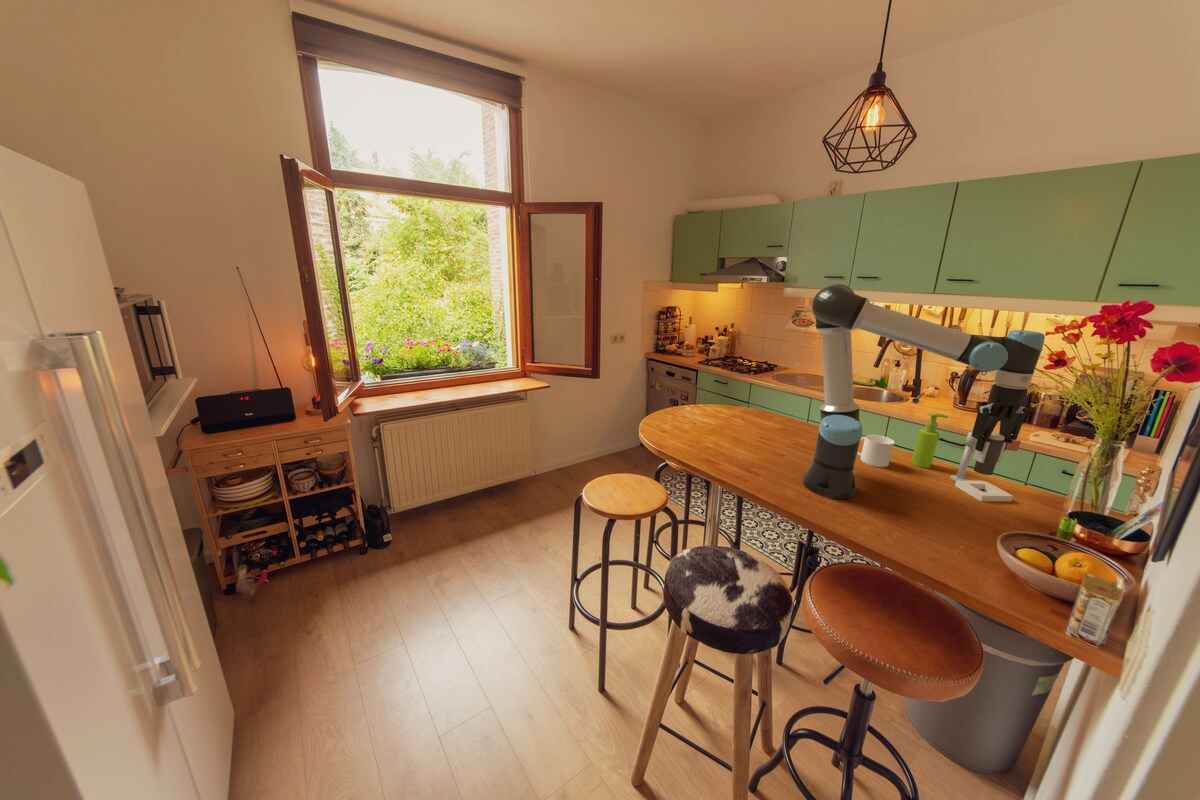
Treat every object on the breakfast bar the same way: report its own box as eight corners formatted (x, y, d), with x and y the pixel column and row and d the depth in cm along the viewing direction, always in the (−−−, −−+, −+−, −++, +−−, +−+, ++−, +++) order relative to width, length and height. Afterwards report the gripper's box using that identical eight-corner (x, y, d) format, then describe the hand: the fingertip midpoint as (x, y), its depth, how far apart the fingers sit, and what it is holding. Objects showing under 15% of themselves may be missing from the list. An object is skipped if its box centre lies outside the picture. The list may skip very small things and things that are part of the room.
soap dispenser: (936, 469, 157) (951, 417, 151) (915, 467, 158) (929, 415, 152) (928, 462, 162) (942, 412, 156) (908, 460, 163) (921, 410, 157)
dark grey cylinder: (982, 475, 127) (994, 437, 124) (969, 468, 131) (980, 432, 128) (996, 475, 127) (1009, 437, 124) (983, 468, 132) (995, 432, 128)
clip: (1018, 452, 139) (1022, 441, 138) (967, 445, 144) (970, 434, 143) (1014, 449, 142) (1017, 437, 141) (963, 442, 146) (966, 431, 145)
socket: (980, 501, 135) (993, 463, 131) (941, 477, 150) (951, 443, 146) (1011, 501, 136) (1024, 464, 132) (968, 477, 151) (979, 443, 147)
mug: (893, 464, 159) (899, 441, 157) (880, 469, 155) (886, 445, 152) (860, 452, 169) (865, 430, 166) (847, 457, 165) (852, 434, 162)
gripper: (993, 389, 118) (969, 466, 124) (1053, 389, 118) (1026, 466, 125) (969, 381, 125) (948, 455, 132) (1026, 382, 125) (1002, 455, 132)
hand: (986, 460), depth 128 cm, fingers closed on dark grey cylinder, 4 cm apart
